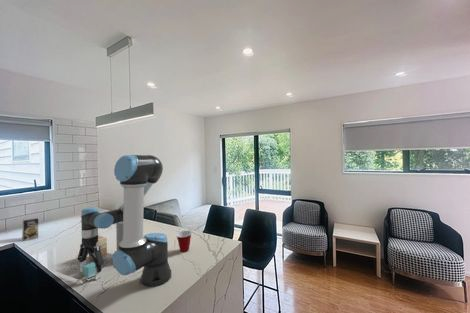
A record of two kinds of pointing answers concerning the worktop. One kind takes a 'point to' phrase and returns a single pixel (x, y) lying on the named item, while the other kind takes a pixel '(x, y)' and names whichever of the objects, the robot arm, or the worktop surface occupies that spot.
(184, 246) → the plastic cup
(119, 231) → the cylinder vase
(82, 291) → the worktop surface
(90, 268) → the teal block
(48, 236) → the worktop surface
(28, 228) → the coffee box
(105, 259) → the slate board
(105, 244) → the beech block
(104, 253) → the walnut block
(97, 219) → the robot arm
